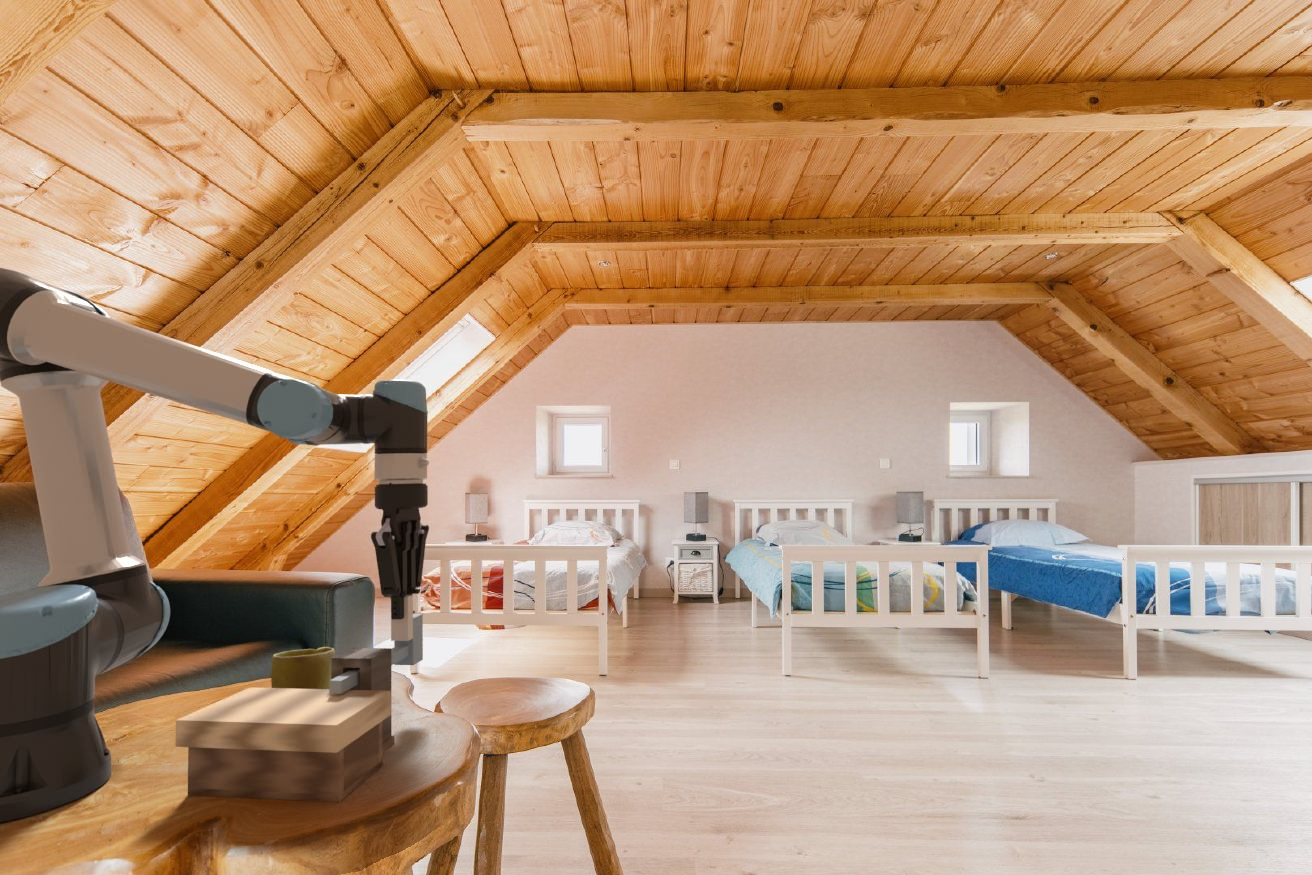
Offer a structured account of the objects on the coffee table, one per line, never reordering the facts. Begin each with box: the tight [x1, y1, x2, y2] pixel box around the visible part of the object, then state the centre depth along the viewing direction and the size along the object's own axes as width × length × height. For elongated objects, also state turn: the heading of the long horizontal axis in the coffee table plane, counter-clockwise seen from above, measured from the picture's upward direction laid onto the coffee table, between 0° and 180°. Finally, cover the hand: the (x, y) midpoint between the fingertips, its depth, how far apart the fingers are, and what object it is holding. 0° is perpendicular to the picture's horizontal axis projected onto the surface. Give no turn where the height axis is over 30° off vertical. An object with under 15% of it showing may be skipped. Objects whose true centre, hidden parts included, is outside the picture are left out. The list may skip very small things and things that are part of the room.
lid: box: [175, 686, 392, 753], centre depth 81 cm, size 20×12×4 cm, turn 83°
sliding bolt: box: [329, 613, 424, 694], centre depth 93 cm, size 3×20×7 cm, turn 172°
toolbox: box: [187, 647, 395, 803], centre depth 84 cm, size 19×16×13 cm
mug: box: [270, 646, 336, 689], centre depth 110 cm, size 12×10×10 cm
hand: (402, 639), depth 99 cm, fingers closed
